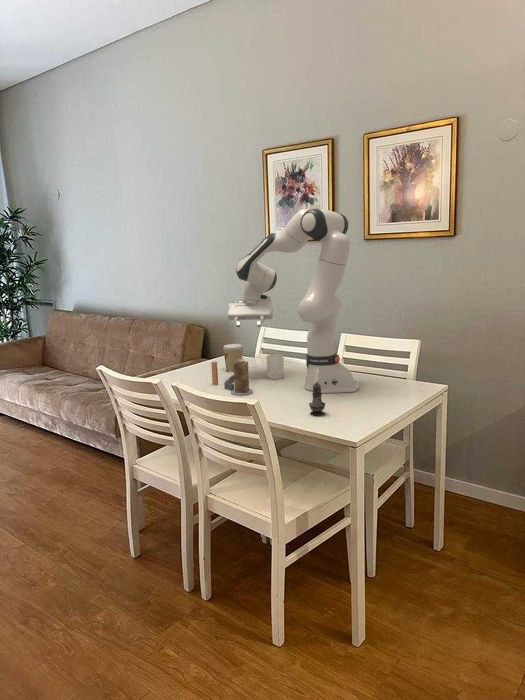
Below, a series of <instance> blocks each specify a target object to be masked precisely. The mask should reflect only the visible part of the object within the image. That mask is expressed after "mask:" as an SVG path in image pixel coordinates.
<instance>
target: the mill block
mask: <svg viewBox="0 0 525 700" xmlns="http://www.w3.org/2000/svg"><path fill="white" fill-rule="evenodd" d="M249 374H250V373H249V361H247V360H246V359H244V358H242V359H238V360H237V362H235V363H234V372H233V376H234V382H233V383H234V389H235V393H247V392H248V391H249V389H250V378H249V376H250V375H249Z"/></svg>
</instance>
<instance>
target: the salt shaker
mask: <svg viewBox="0 0 525 700" xmlns="http://www.w3.org/2000/svg"><path fill="white" fill-rule="evenodd" d="M311 395H312V400H311V402H309V403H308V406H309V408H310V410H311V412H310V413H309V415H310V416H312V415H313V417H321V415H322V416H324V415H325V414H326V413H325V411H324V409H325V408H326V407H325V406H326V402H324V401H323V400H322V395H323V393H321V385H320V384H318V383H317V381H316V383H315V384H314V385H313V391H312V393H311Z"/></svg>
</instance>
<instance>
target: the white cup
mask: <svg viewBox="0 0 525 700" xmlns="http://www.w3.org/2000/svg"><path fill="white" fill-rule="evenodd" d="M265 360H266V368H267V375H268V376H267V377H268V379H269V380H281V378H282V379H283V378H284V372H285V371H284V370H285V369H284V368H285V366H284V365H285V356H284V355H283V354H279V353H277V354H276V353H275V354H268V355H266V359H265Z"/></svg>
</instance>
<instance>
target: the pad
mask: <svg viewBox="0 0 525 700" xmlns="http://www.w3.org/2000/svg"><path fill="white" fill-rule="evenodd" d="M253 393H254V389H251V388H249V391H248V392H247V393H235V388H234V390H232V391H231V390H230V394H231V395H233V396H236V397H237V396H238V397H239V396H240V397H244V396H249V395H252V394H253Z"/></svg>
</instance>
